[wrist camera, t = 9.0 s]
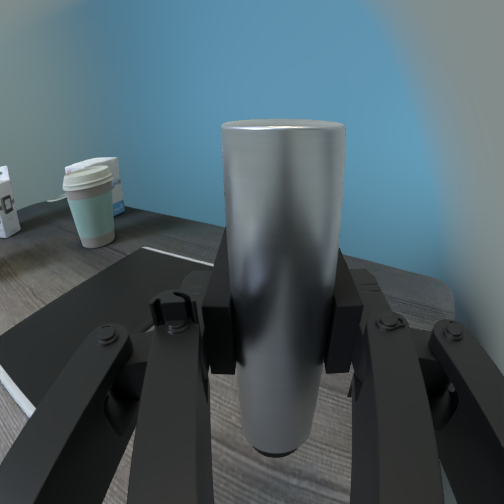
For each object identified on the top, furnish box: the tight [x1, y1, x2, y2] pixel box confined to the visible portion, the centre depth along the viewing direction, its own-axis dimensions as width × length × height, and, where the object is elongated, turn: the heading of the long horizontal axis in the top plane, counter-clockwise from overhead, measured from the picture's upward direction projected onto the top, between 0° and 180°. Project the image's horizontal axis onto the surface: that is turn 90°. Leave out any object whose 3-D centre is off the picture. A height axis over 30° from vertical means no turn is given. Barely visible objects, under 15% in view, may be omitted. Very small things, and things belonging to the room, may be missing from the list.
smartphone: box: [0, 247, 214, 418], centre depth 31 cm, size 13×27×2 cm, turn 152°
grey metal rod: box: [221, 119, 346, 458], centre depth 10 cm, size 3×3×13 cm
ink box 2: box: [65, 157, 125, 216], centre depth 59 cm, size 9×8×12 cm
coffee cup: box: [63, 166, 115, 248], centre depth 47 cm, size 9×9×12 cm
